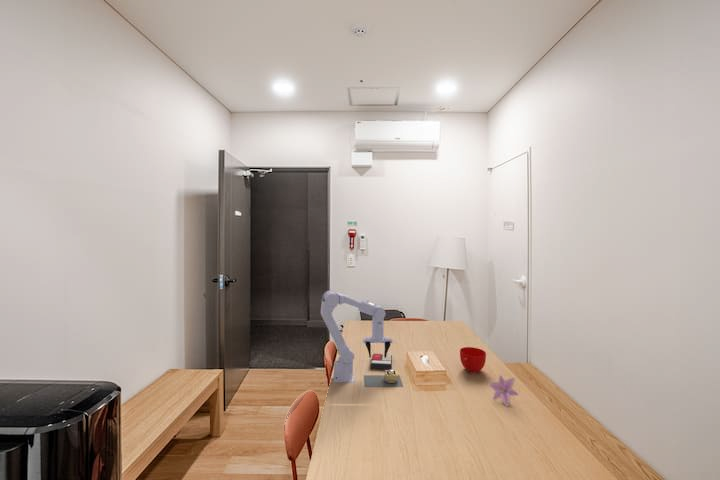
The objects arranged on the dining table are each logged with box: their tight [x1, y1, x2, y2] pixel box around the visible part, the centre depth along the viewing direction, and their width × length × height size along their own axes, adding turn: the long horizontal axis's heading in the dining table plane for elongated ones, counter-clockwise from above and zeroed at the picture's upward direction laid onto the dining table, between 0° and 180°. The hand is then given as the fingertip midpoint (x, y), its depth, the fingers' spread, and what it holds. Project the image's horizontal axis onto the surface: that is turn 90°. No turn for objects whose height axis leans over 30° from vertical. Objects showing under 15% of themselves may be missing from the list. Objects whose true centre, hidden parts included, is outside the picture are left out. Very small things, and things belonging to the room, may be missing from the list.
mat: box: [363, 374, 404, 388], centre depth 154 cm, size 18×12×1 cm, turn 92°
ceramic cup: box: [459, 346, 487, 374], centre depth 166 cm, size 13×17×10 cm
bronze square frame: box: [384, 369, 399, 382], centre depth 154 cm, size 6×6×3 cm
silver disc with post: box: [384, 369, 398, 384], centre depth 154 cm, size 6×6×5 cm
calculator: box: [370, 353, 393, 371], centre depth 174 cm, size 11×4×15 cm
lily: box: [487, 374, 520, 407], centre depth 139 cm, size 12×12×10 cm
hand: (377, 356), depth 161 cm, fingers open, 7 cm apart
